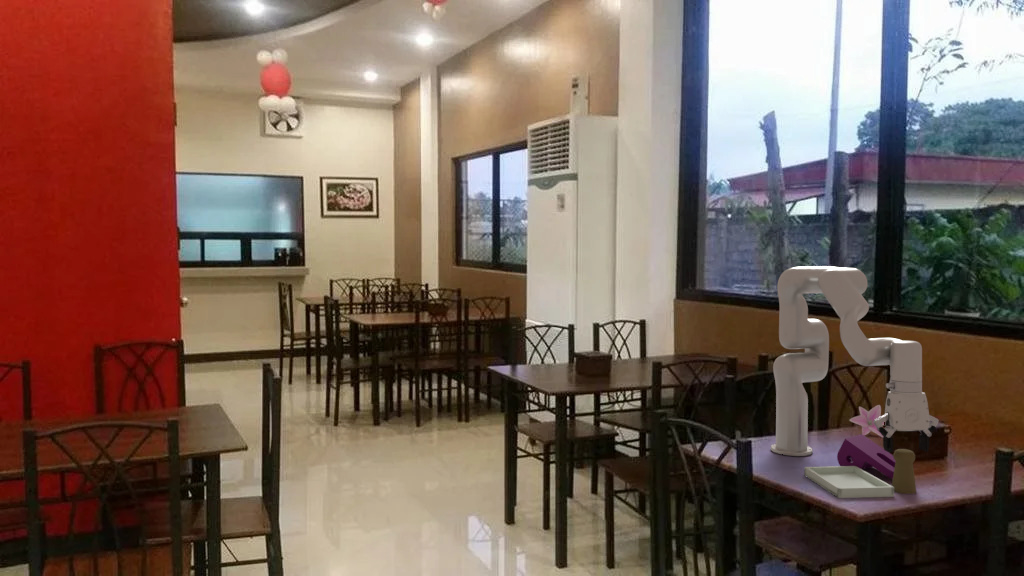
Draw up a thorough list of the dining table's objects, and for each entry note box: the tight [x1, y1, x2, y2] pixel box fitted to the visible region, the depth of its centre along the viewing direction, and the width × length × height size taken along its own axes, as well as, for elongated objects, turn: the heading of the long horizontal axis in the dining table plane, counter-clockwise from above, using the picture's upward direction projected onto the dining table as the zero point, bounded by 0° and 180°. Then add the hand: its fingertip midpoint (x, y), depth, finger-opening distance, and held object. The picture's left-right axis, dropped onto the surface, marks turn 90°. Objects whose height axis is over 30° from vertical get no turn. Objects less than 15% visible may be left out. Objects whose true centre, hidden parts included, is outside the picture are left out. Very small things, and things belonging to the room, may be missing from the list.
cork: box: [891, 448, 917, 495], centre depth 204 cm, size 6×6×11 cm
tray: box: [803, 465, 895, 499], centre depth 208 cm, size 20×15×2 cm
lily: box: [849, 404, 885, 438], centre depth 267 cm, size 12×12×10 cm
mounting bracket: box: [836, 433, 896, 480], centre depth 220 cm, size 9×8×18 cm
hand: (906, 450), depth 203 cm, fingers open, 9 cm apart
